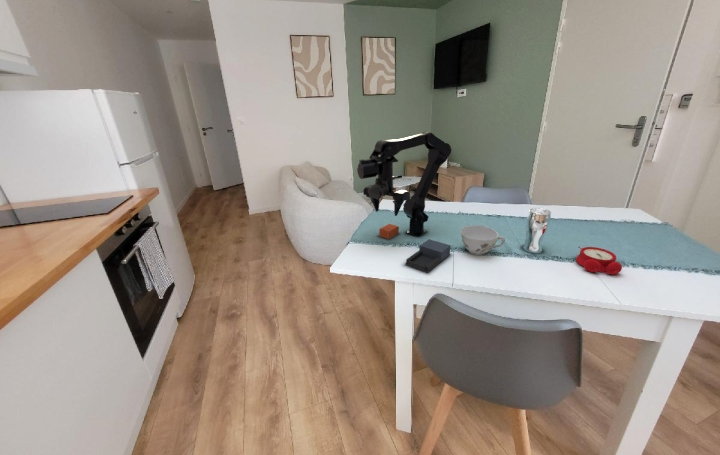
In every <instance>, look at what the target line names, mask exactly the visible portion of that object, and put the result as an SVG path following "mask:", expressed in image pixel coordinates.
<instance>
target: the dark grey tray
mask: <svg viewBox="0 0 720 455" xmlns="http://www.w3.org/2000/svg"><path fill="white" fill-rule="evenodd" d="M418 248H419V249H418V251H416V252H415V253H413V254H412V255H410V256H409V257H407V258H406V259H405V260H406V261H405V263H404V265H405V266H407V267H410V268H411V269H415V270H418V271H420V272H423V273H426V274H429V273H430V272H432V271H433V270H434V269H435V268H436V267H437V266H439V265H440V264H441V263H442V262H443V261H445V260H446V259H447V258H449V256H451V248H452V245H450V244H447V243H444V242H441V241H437V240H433V239H430V238H428V239H427V240H425V241H424V242H422V243H421V244H419V246H418Z"/></svg>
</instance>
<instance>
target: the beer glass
mask: <svg viewBox="0 0 720 455" xmlns="http://www.w3.org/2000/svg"><path fill="white" fill-rule="evenodd" d="M528 210H529V211H528V214H527V218H526V222H525V223H526V224H525V241H524V244H523V246H522V249H523V250H524V251H525V252H528V253H531V254H540V253H542V252H543V242H544V239H545V237H546V235H547V232H548V230H549V227H550V223H551V218H552V217H551V216H552V212H551V210H549V209H546V208H540V207H533V208H530V209H528Z"/></svg>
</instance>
